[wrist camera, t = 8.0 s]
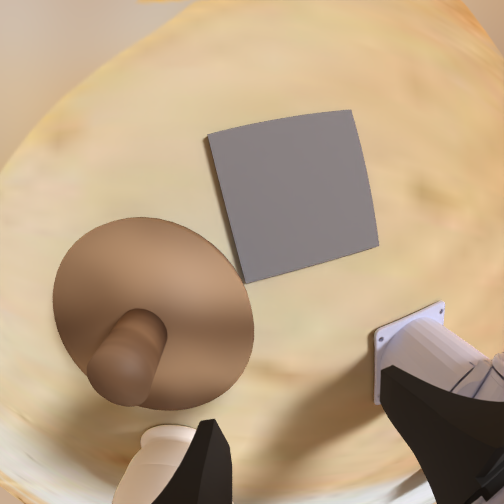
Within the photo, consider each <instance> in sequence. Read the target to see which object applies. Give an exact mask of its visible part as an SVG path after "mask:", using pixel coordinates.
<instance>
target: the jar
mask: <svg viewBox="0 0 504 504" xmlns="http://www.w3.org/2000/svg"><path fill="white" fill-rule="evenodd" d="M196 430H197V429H194V428H191V427H186V426H180V425H160V426H156V427H153V428H150V429H148V430H147V431H146V432H145V433H144V434H143V435H142V437H141V448H142V449H140V450H139V451H138V452H137V453H136V455H135V456H134V457H133V458H132V460H131V462H130V463H129V465H128V467H127V469H126V472H125V473H124V475H123V477H122V479H121V481H120V483H119V485H118V487H117V489H116V492H115V494H114V497H113V501H112V504H151V503H152V502H153V501H154V500H155V499H156V498H157V497H158V495H159V494H160V493H161V492H162V490H163V489H164V488H165V486H166V485H167V484H168V482H169V481H170V479H171V478H172V476H173V475H174V473H175V471H176V470H177V468H178V466H179V465H180V463H181V461H182V459H183V457H184V455H185V454H186V452H187V450H188V448H189V446H190V443H191V441H192V439H193V437H194V434H195V432H196ZM232 504H233V500H232Z"/></svg>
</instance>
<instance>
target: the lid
mask: <svg viewBox="0 0 504 504" xmlns="http://www.w3.org/2000/svg"><path fill="white" fill-rule="evenodd" d="M53 310H54V317H55V322H56V325H57V329H58V332H59V335H60V337H61V340H62V342H63V344H64V346H65V348H66V350H67V351H68V353H69V355H70V356H71V358H72V359H73V361H74V362H75V363H76V365H77V366H78V367H79V368H80V369H81V371H82V372H83V373H84V374H85V375H86V376H87V377H88V379H89V381H90V383H91V385H92V386H93V388H94V389H95V390H96V391H97V392H98V393H99V394H100V395H101V396H102V397H104V398H105V399H107V400H108V401H110V402H112V403H115V404H118V405H121V406H140V407H144V408H149V409H154V410H182V409H189V408H193V407H197V406H200V405H203V404H205V403H208V402H210V401H212V400H214V399H215V398H217V397H219V396H220V395H222V394H223V393H224V392H226V391H227V390H228V389H229V388H230V387H231V386H232V385H233V384H234V383H235V382H236V381H237V380H238V379H239V377H240V376H241V374H242V373H243V371H244V369H245V367H246V366H247V364H248V361H249V358H250V355H251V352H252V348H253V342H254V322H253V315H252V309H251V305H250V301H249V298H248V294H247V291H246V289H245V287H244V285H243V282H242V280H241V278H240V277H239V275H238V273H237V272H236V270H235V268H234V267H233V266H232V264H231V263H230V262H229V261H228V259H227V258H226V257H225V256H224V255H223V254H222V253H221V252H220V251H219V250H218V249H217V248H216V247H215V246H214V245H213V244H212V243H210V242H209V241H207V240H206V239H205V238H203V237H202V236H201V235H199V234H197V233H195V232H194V231H192V230H190V229H188V228H186V227H184V226H181V225H179V224H176V223H173V222H170V221H166V220H162V219H157V218H147V217H136V218H126V219H121V220H116V221H113V222H110V223H107V224H104V225H102V226H99V227H97V228H95V229H93V230H91V231H90V232H88V233H86V234H85V235H84V236H82V237H81V238H80V239H79V240H78V241H76V242H75V244H74V245H73V246H72V247H71V248H70V249H69V250H68V252H67V253H66V255H65V257H64V258H63V260H62V262H61V264H60V266H59V269H58V271H57V274H56V278H55V282H54V289H53Z"/></svg>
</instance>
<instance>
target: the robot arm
mask: <svg viewBox="0 0 504 504" xmlns="http://www.w3.org/2000/svg"><path fill="white" fill-rule="evenodd" d="M444 311H445V303H444V302H443V301H438V302H436V303H434V304H432V305H430V306H428V307H426V308H424V309H422V310H420V311H417V312H415V313H413V314H411V315H409V316H406V317H404V318H402V319H400V320H397V321H395V322H393V323H390V324H388V325H385V326H383V327H380V328H378V329H377V330H376V331H375V333H374V347H375V384H374V403H375V405H380V404H381V405H382V407H383V409H384V411H385V413H386V414H387V416H388V418H389V419H390V421H391V422H392V424H393V425H394V426H395V428H396V429H397V431H398V432H399V433H400V435H401V436H402V437H403V439H404V440H405V442H406V443H407V444H408V446H409V447H410V448H411V450H412V451H413V453H414V455H415V456H416V458H417V460H418V462H419V464H420V466H421V468H422V469H423V472H424V474H425V476H426V478H427V480H428V482H429V484H430V487H431V489H432V492H433V494H434V497H435V499H436V502H437V504H504V352H502V353H498V354H496V355H495V356H494V358H493V360H490V359H489V358H488V357H486V356H485V355H484V354H482V353H481V352H479V351H478V350H477V349H475V348H474V347H473V346H471V345H470V344H468V343H467V342H466V341H464V340H463V339H461V338H460V337H459V336H457V335H456V334H454V333H453V332H452V331H450V330H449V329H447V328H446V327H444V326H443V323H444ZM379 338H381V339H380V340H379ZM151 504H232V461H231V454H230V447H229V444H228V442H227V440H226V439H225V437H224V435H223V433H222V431H221V429H220V428H219V426H218V424H217V422H216V420H215V419H210V420H203V421H200V423H199V425H198V427H197V430H196V432H195V434H194V437H193V439H192V441H191V443H190V446H189V448H188V450H187V452H186V454H185V455H184V457H183V459H182V461H181V463H180V465H179V466H178V468H177V470H176V471H175V473H174V475H173V476H172V478H171V479H170V481H169V482H168V484H167V485H166V486H165V488H164V489H163V490H162V492H161V493H160V494H159V495H158V497H157V498H156V499H155V500H154V501H153V502H152V503H151Z"/></svg>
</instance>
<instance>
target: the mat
mask: <svg viewBox="0 0 504 504" xmlns="http://www.w3.org/2000/svg"><path fill="white" fill-rule="evenodd" d="M207 135H208V139H209V143H210V147H211V151H212V155H213V159H214V163H215V167H216V171H217V175H218V179H219V183H220V187H221V190H222V194H223V198H224V202H225V206H226V210H227V214H228V218H229V221H230V225H231V229H232V233H233V237H234V240H235V244H236V248H237V252H238V256H239V259H240V263H241V267H242V271H243V274H244V278H245V282H246V283H250V282H254V281H258V280H261V279H265V278H269V277H273V276H276V275H280V274H284V273H287V272H291V271H294V270H298V269H302V268H305V267H309V266H312V265H316V264H319V263H323V262H326V261H330V260H333V259H337V258H340V257H344V256H347V255H350V254H354V253H357V252H361V251H364V250H367V249H370V248H374V247H377V246H379V241H378V233H377V226H376V219H375V213H374V207H373V201H372V195H371V190H370V185H369V180H368V175H367V170H366V166H365V161H364V157H363V152H362V148H361V144H360V140H359V136H358V133H357V129H356V125H355V122H354V118H353V115H352V111H351V110H341V111H331V112H323V113H314V114H307V115H300V116H293V117H287V118H281V119H275V120H270V121H264V122H259V123H254V124H250V125H245V126H240V127H236V128H231V129H227V130H223V131H219V132H215V133H211V134H207Z"/></svg>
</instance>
